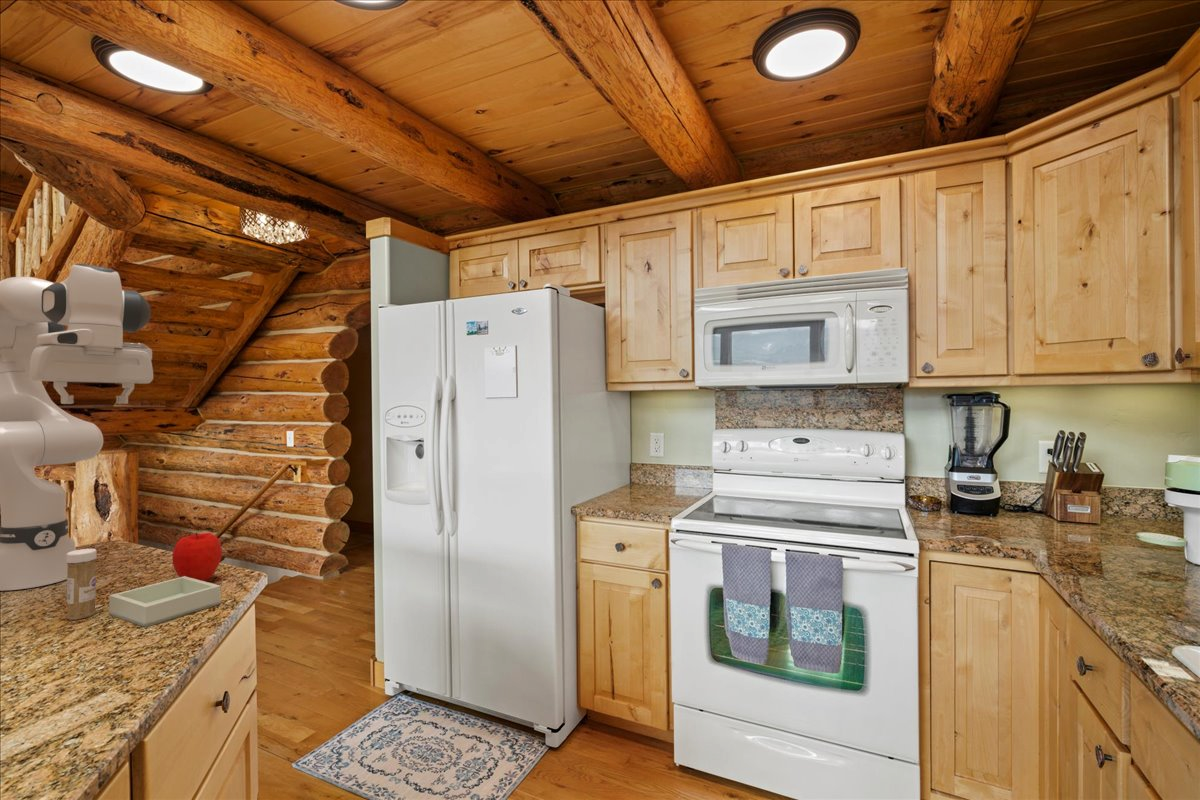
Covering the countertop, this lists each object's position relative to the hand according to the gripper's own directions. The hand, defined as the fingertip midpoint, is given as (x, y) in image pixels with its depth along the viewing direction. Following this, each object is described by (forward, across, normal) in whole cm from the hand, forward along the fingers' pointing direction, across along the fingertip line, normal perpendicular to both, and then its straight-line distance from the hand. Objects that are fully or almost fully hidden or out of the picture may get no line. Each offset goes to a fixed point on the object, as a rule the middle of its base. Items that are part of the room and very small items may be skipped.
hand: (95, 403), depth 120 cm
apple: (+44, -19, +3) cm, 48 cm away
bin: (+44, -6, +16) cm, 47 cm away
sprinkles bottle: (+44, +4, +5) cm, 44 cm away
